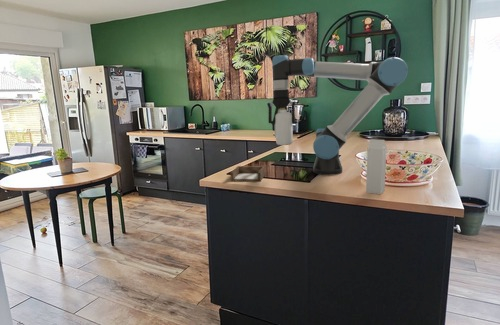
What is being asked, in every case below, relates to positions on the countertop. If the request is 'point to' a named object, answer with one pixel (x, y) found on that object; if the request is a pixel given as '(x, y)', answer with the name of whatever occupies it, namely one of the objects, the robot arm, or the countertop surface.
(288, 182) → the countertop surface
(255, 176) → the brown tray
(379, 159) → the milk
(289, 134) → the white bottle
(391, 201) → the countertop surface
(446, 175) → the countertop surface
